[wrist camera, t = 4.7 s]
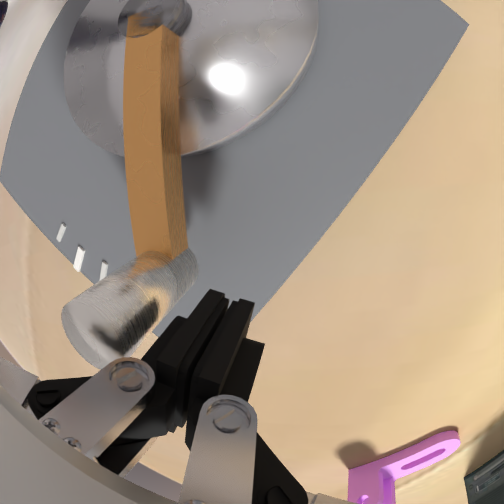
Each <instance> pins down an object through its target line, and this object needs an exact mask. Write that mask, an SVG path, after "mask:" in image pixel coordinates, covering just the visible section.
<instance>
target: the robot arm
mask: <svg viewBox="0 0 504 504" xmlns="http://www.w3.org/2000/svg"><path fill="white" fill-rule="evenodd" d="M228 305H229V299H228V298H225V293H222V292H219V291H216V290H213V289H209V290H208V292H207V293H206V294H205V296H204V297H203V298H202V299H201V301H200V302H199V303H198V305H197V306H196V307H195V309H194V310H193V311H192V313H191V314H190V315H189V317H188V318H184V317H182V316H176V317H175V318H174V319H173V321H172V322H171V323H170V324H169V326H168V327H167V328H166V329H165V330H164V332H163V333H162V334H161V335H160V337H159V338H158V339H157V340H156V341H155V343H154V344H153V345H152V346H151V348H150V349H149V350H148V351H147V353H146V354H145V355H144V356H143V358H142V359H141V360H140V359H137V358H132V357H122V358H119V359H115V360H114V361H112V362H110V363H109V364H108V365H106V366H105V367H104V368H103V369H101V370H100V371H99V372H98V373H97V374H95V375H94V376H90V377H80V378H68V379H55V380H45V381H40V379H39V377H38V376H36V375H34V374H31V373H30V372H28V371H26V370H24V369H22V368H20V367H18V366H16V365H14V364H12V363H11V362H9V361H7V360H5V359H3V358H2V357H0V504H358V503H353V502H349V501H345V500H341V499H338V498H334V497H330V496H327V495H324V494H320V493H318V494H316V495H315V494H312V493H309V492H306V491H305V490H304V488H303V487H302V486H301V485H300V483H299V482H298V481H297V480H296V479H295V478H294V477H293V476H292V474H291V473H290V472H289V471H288V470H287V469H286V467H285V466H284V465H283V464H282V463H281V462H280V460H279V459H278V458H277V457H276V456H275V454H274V453H273V452H272V451H271V449H270V448H269V447H268V446H267V444H266V443H265V442H264V441H263V439H262V438H261V437H260V435H259V434H258V433H257V414H256V412H255V410H254V408H253V407H252V406H251V405H250V404H249V403H248V399H249V396H250V393H251V390H252V386H253V383H254V380H255V376H256V373H257V370H258V366H259V363H260V359H261V356H262V353H263V349H264V345H265V344H264V343H260V342H257V341H254V340H250V339H247V338H246V335H247V331H248V328H249V324H250V320H251V317H252V313H253V309H254V305H255V302H251V301H248V300H245V299H241V298H240V299H239V301H238V302H237V301H234V300H233V301H232V303H231V305H230V306H229V308H228ZM186 420H187V425H186V437H185V443H186V445H187V447H188V448H189V450H190V455H189V460H188V464H187V468H186V472H185V476H184V481H183V485H182V489H181V494H180V498H179V502H178V503H177V502H175V501H172V500H170V499H167V498H165V497H162V496H160V495H158V494H156V493H153V492H151V491H149V490H146V489H144V488H142V487H140V486H138V485H136V484H134V483H132V482H130V481H128V480H126V479H124V477H125V476H126V475H127V474H128V473H129V472H130V470H131V469H132V468H133V467H134V466H135V465H136V463H137V462H138V461H139V460H140V459H141V458H142V456H143V455H144V454H145V453H146V452H147V451H148V449H149V448H150V447H151V446H152V445H153V443H154V442H155V441H156V439H157V437H158V436H163V435H166V434H167V432H168V431H170V432H172V433H174V431H175V429H176V428H177V426H179V427H183V426H184V424H185V422H186Z"/></svg>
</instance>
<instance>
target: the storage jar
mask: <svg viewBox="0 0 504 504" xmlns="http://www.w3.org/2000/svg"><path fill="white" fill-rule="evenodd" d="M7 7H8V3H7V2H5V1H3V2H0V27H1V24H2V22H3V20H4V17H5V14H6V11H7Z"/></svg>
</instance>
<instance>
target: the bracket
mask: <svg viewBox="0 0 504 504" xmlns="http://www.w3.org/2000/svg"><path fill="white" fill-rule="evenodd" d="M459 445H460V439H459V436H458V433H457V432H456V431H453V430H451V431H445V432H441V433H438V434H436V435H433V436H431V437H429V438H427V439H425V440H423V441H421V442H419V443H417V444H415V445H413V446H411V447H408V448H406V449H404V450H402V451H399V452H397V453H394V454H392V455H389V456H387V457H384V458H382V459H379V460H376V461H374V462H371V463H368V464H365V465H362V466H359V467H356V468H353V469H349V478H348V501H349V502H353V503H358V504H362V502H363V504H396V503H395V485H394V482H395V480H396V479H398V478H400V477H403V476H405V475H408V474H410V473H413V472H415V471H418V470H420V469H422V468H425V467H427V466H429V465H431V464H433V463H435V462H438V461H440V460H442V459H444V458H445V457H447V456H449V455H450V454H452V453H453V452H454V451H455V450H456V449H457V448H458V447H459Z"/></svg>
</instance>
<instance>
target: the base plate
mask: <svg viewBox="0 0 504 504" xmlns="http://www.w3.org/2000/svg"><path fill="white" fill-rule="evenodd" d="M89 1H90V0H68V1H67V2H66V4H65V6H64V7H63V9H62V10H61V12H60V13H59V15H58V17H57V18H56V20H55V22H54V24H53V25H52V27H51V29H50V31H49V33H48V34H47V36H46V38H45V40H44V42H43V44H42V46H41V48H40V50H39V52H38V54H37V56H36V59H35V61H34V63H33V65H32V67H31V70H30V72H29V75H28V77H27V80H26V82H25V85H24V87H23V90H22V93H21V95H20V98H19V101H18V104H17V107H16V110H15V114H14V117H13V120H12V124H11V127H10V131H9V135H8V139H7V143H6V147H5V152H4V157H3V162H2V167H1V173H0V182H1V183H2V184H3V186H4V187H5V188H6V190H7V191H8V192H9V194H10V195H11V196H12V197H13V199H14V200H15V201H16V202H17V204H18V205H19V206H20V207H21V209H22V210H23V211H24V212H25V213H26V214H27V216H28V217H29V218H30V219H31V220H32V221H33V223H34V224H35V225H36V226H37V227H38V228H39V229H40V230H41V232H42V233H43V234H44V235H45V236H46V237H47V238H48V239H49V240H50V241H51V242H52V243H53V244H54V246H55V247H56V248H57V249H58V250H59V251H60V252H61V253H62V254H63V255H64V256H65V257H66V258H67V259H68V260H69V261H70V262H71V263H72V264H73V265H74V266H73V267H74V268H75V269H76V270H77V271H78V272H79V271H81V272H82V273H83V274H84V275H85V276H86V277H87V278H88V279H89V280H90V281H91V282H92V283H93V284H96V283H97V282H99V281H100V280H102V279H103V278H105V277H106V276H108V275H109V274H111V273H112V272H114V271H115V270H117V269H118V268H120V267H121V266H123V265H124V264H126V263H127V262H129V261H130V260H132V259H133V258H135V257H136V251H135V245H134V239H133V232H132V225H131V218H130V210H129V201H128V192H127V181H126V169H125V157H124V156H120V155H116V154H114V153H111V152H109V151H107V150H104V149H102V148H101V147H99V146H98V145H96V144H95V143H93V142H92V141H91V140H90V139H89V138H88V137H87V136H86V135H85V134H84V133H83V132H82V131H81V129H80V128H79V127H78V126H77V124H76V122H75V121H74V119H73V117H72V115H71V113H70V110H69V107H68V104H67V101H66V96H65V91H64V78H63V77H64V63H65V57H66V51H67V48H68V44H69V41H70V38H71V35H72V33H73V30H74V28H75V25H76V23H77V21H78V20H79V18H80V16H81V14H82V12H83V11H84V9H85V8H86V6H87V4H88V3H89ZM468 26H469V24H468V23H467V22H466V21H465V20H464V19H462V18H461V17H460V16H459V15H458V14H457V13H455V12H454V11H453V10H452V9H451V8H449V7H448V6H447V5H446V4H444V3H443V2H442V1H441V0H318V39H317V46H316V50H315V53H314V56H313V60H312V63H311V65H310V67H309V69H308V71H307V73H306V75H305V77H304V79H303V81H302V82H301V84H300V85H299V86H298V88H297V89H296V91H295V92H294V94H293V95H292V96H291V97H290V98H289V99H288V101H287V102H286V103H285V104H284V105H283V106H282V107H281V109H279V110H278V111H277V112H276V113H275V114H274V115H273V116H271V117H270V118H269V119H268V120H267V121H266V122H264V123H263V124H262V125H260V126H259V127H257V128H256V129H255V130H253V131H252V132H250V133H249V134H247V135H245V136H243V137H241V138H239V139H238V140H236V141H234V142H232V143H230V144H227V145H225V146H222V147H220V148H218V149H215V150H212V151H208V152H205V153H201V154H197V155H191V156H185V157H181V168H182V183H183V196H184V208H185V219H186V230H187V240H188V247H189V249H190V250H191V251H192V252H193V254H194V255H195V257H196V259H197V262H198V267H199V272H198V277H197V280H196V282H195V283H194V284H193V285H192V287H191V288H190V289H189V290H188V291H187V292H186V293H185V294H184V296H183V297H182V298H181V299H180V300H179V301H178V302H177V303H176V305H175V306H174V307H173V308H172V309H171V310H170V311H169V313H168V314H167V315H166V316H165V317H164V318H163V319H162V321H161V322H160V323H159V324H158V325H157V326H156V327H155V329H154V330H153V331H152V333H154V334H155V335H156V336H158V337H160V335H161V334H162V333H163V332H164V330H165V329H166V328H167V327H168V326H169V324H170V323H171V322H172V321H173V319H174V318H175V317H176V316H182V317H184V318H188V317H189V315H190V314H191V313H192V311H193V310H194V309H195V307H196V306H197V305H198V303H199V302H200V301H201V299H202V298H203V297H204V296H205V294H206V293H207V292H208V290H209V289H213V290H216V291H219V292H222V293H225V298H228V299H229V305H228V308H229V306H230V305H231V303H232V301H233V300H234V301H237V302H238V301H239V299H240V298H241V299H245V300H248V301H251V302H255V305H254V309H253V313H252V317H251V320H250V322H251V321H252V320H253V318H254V317H255V316H256V315H257V314H258V313H259V312H260V310H261V309H262V308H263V307H264V306H265V305H266V303H267V302H268V301H269V300H270V299H271V298H272V296H273V295H274V294H275V293H276V292H277V291H278V289H279V288H280V287H281V286H282V285H283V283H284V282H285V281H286V280H287V279H288V277H289V276H290V275H291V274H292V273H293V271H294V270H295V269H296V268H297V267H298V265H299V264H300V263H301V262H302V261H303V259H304V258H305V257H306V256H307V254H308V253H309V252H310V251H311V250H312V248H313V247H314V246H315V245H316V243H317V242H318V241H319V240H320V238H321V237H322V236H323V235H324V233H325V232H326V231H327V230H328V228H329V227H330V226H331V224H332V223H333V222H334V221H335V219H336V218H337V217H338V216H339V214H340V213H341V212H342V210H343V209H344V208H345V207H346V205H347V204H348V203H349V201H350V200H351V199H352V197H353V196H354V195H355V193H356V192H357V191H358V189H359V188H360V187H361V186H362V184H363V183H364V182H365V180H366V179H367V177H368V176H369V175H370V173H371V172H372V171H373V169H374V168H375V167H376V165H377V164H378V163H379V161H380V160H381V158H382V157H383V156H384V154H385V153H386V152H387V150H388V149H389V147H390V146H391V145H392V143H393V142H394V140H395V139H396V138H397V136H398V135H399V133H400V132H401V130H402V129H403V128H404V126H405V125H406V123H407V122H408V120H409V119H410V117H411V116H412V115H413V113H414V112H415V110H416V109H417V107H418V106H419V104H420V103H421V101H422V100H423V98H424V97H425V95H426V94H427V92H428V91H429V89H430V88H431V86H432V85H433V83H434V81H435V80H436V78H437V77H438V75H439V74H440V72H441V70H442V69H443V67H444V66H445V64H446V63H447V61H448V59H449V58H450V56H451V54H452V53H453V51H454V49H455V48H456V46H457V45H458V43H459V41H460V39H461V38H462V36H463V34H464V33H465V31H466V29H467V27H468Z"/></svg>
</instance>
